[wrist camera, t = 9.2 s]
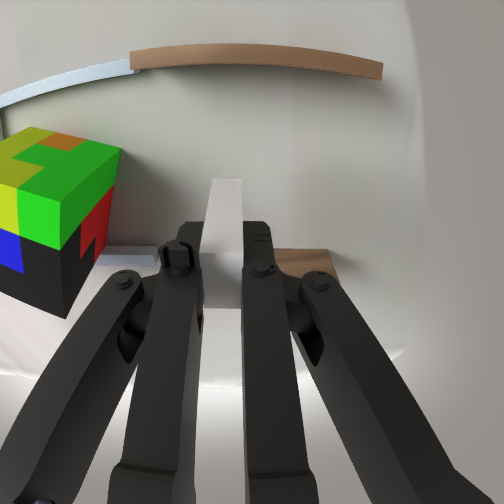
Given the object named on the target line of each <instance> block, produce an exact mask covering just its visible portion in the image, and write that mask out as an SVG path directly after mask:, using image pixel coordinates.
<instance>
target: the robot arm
mask: <svg viewBox="0 0 504 504" xmlns="http://www.w3.org/2000/svg"><path fill="white" fill-rule="evenodd" d="M159 254H160V260H161V265H162V271H161V272H160V273H158V274H156V275H152V276H148V277H144V278H141V276H140V275H139V274H138V272H136V271H133V270H121V271H118V272H116V273H114V274H113V275H112V276H110V277H109V278H108V280H107V281H106V282H105V284H104V285H103V286H102V287H101V289H100V290H99V291H98V293H97V294H96V295H95V297H94V298H93V299H92V301H91V302H90V303H89V305H88V306H87V308H86V309H85V310H84V312H83V313H82V314H81V316H80V317H79V319H78V320H77V322H76V323H75V324H74V326H73V327H72V329H71V330H70V332H69V333H68V334H67V336H66V337H65V339H64V340H63V342H62V343H61V345H60V346H59V348H58V349H57V351H56V352H55V354H54V356H53V357H52V359H51V360H50V362H49V363H48V365H47V366H46V368H45V370H44V371H43V373H42V375H41V376H40V378H39V379H38V381H37V383H36V384H35V386H34V388H33V390H32V391H31V393H30V395H29V396H28V398H27V400H26V402H25V403H24V405H23V407H22V409H21V411H20V412H19V414H18V416H17V418H16V420H15V422H14V424H13V426H12V427H11V429H10V431H9V433H8V435H7V437H6V439H5V441H4V443H3V445H2V448H1V450H0V504H72V503H73V502H74V500H75V498H76V496H77V494H78V492H79V490H80V488H81V486H82V483H83V481H84V478H85V476H86V474H87V471H88V469H89V467H90V464H91V462H92V460H93V458H94V455H95V453H96V450H97V448H98V446H99V444H100V442H101V440H102V437H103V435H104V433H105V431H106V429H107V426H108V424H109V422H110V420H111V418H112V416H113V414H114V412H115V409H116V407H117V405H118V403H119V401H120V399H121V396H122V395H123V393H124V391H125V389H126V387H127V385H128V383H129V381H130V379H131V377H132V375H133V373H134V371H135V369H136V367H137V365H138V367H137V372H136V377H135V382H134V387H133V392H132V397H131V403H130V409H129V414H128V420H127V426H126V432H125V439H124V446H123V453H122V458H121V460H120V462H119V463H118V464H117V465H116V466H115V467H114V468H113V470H112V472H111V476H110V481H109V490H108V500H107V504H196V492H195V487H194V466H195V440H196V418H197V400H198V385H199V371H200V358H201V345H202V333H203V322H204V316H203V303H204V308H241V336H242V387H243V428H244V461H245V462H244V463H245V504H319V498H318V490H317V484H316V480H315V477H314V474H313V473H312V471H311V470H310V468H309V465H308V459H307V451H306V443H305V435H304V427H303V420H302V412H301V405H300V398H299V390H298V383H297V376H296V369H295V362H294V356H293V349H292V342H291V336H290V331H291V332H292V336H293V338H294V340H295V342H296V344H297V346H298V348H299V350H300V353H301V355H302V357H303V359H304V361H305V363H306V365H307V367H308V370H309V372H310V374H311V376H312V378H313V380H314V382H315V384H316V386H317V388H318V391H319V393H320V395H321V397H322V399H323V401H324V404H325V406H326V408H327V410H328V412H329V414H330V416H331V418H332V421H333V423H334V425H335V426H336V429H337V431H338V433H339V435H340V438H341V439H342V442H343V444H344V446H345V448H346V450H347V453H348V454H349V457H350V459H351V461H352V463H353V465H354V467H355V470H356V472H357V474H358V476H359V478H360V480H361V482H362V484H363V486H364V489H365V491H366V493H367V495H368V497H369V499H370V500H371V502H372V504H494V503H493V501H492V500H491V499H490V498H489V497H488V496H486V495H485V494H484V493H483V492H482V491H480V490H479V489H478V488H477V487H476V486H474V485H473V484H472V483H471V482H469V481H468V480H467V479H466V478H465V477H464V476H462V475H461V474H460V473H459V472H458V471H456V470H455V469H454V468H453V465H452V464H451V462H450V460H449V458H448V456H447V454H446V452H445V451H444V449H443V447H442V445H441V443H440V442H439V440H438V438H437V436H436V434H435V433H434V431H433V429H432V428H431V426H430V424H429V422H428V421H427V419H426V417H425V415H424V414H423V412H422V410H421V409H420V407H419V405H418V404H417V402H416V400H415V399H414V397H413V395H412V394H411V392H410V390H409V389H408V387H407V385H406V384H405V383H404V381H403V379H402V377H401V376H400V374H399V373H398V371H397V370H396V368H395V366H394V365H393V363H392V362H391V360H390V358H389V357H388V355H387V354H386V352H385V351H384V349H383V348H382V346H381V344H380V343H379V341H378V340H377V338H376V337H375V335H374V334H373V332H372V331H371V329H370V328H369V326H368V325H367V323H366V322H365V320H364V319H363V317H362V316H361V314H360V313H359V311H358V310H357V309H356V307H355V306H354V304H353V303H352V301H351V300H350V298H349V297H348V295H347V294H346V293H345V291H344V290H343V288H342V287H341V285H340V284H339V283H338V281H337V280H336V279H335V278H334V277H333V276H332V275H330V274H329V273H327V272H323V271H310V272H307V273H306V274H305V275H303V276H302V278H298V277H293V276H290V275H287V274H285V273H283V272H282V271H281V270H280V269H279V267H278V265H277V264H276V262H275V256H274V250H273V244H272V237H271V231H270V227H269V226H268V225H267V224H266V223H265V222H264V221H243V214H242V178H228V177H213V180H212V185H211V190H210V195H209V201H208V206H207V211H206V216H205V222H185V223H184V224H183V225H182V226H181V227H180V228H179V231H178V235H177V238H176V240H172V241H169V242H167V243H165V244H164V245H162V246H161V248H160V249H159Z"/></svg>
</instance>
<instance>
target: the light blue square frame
mask: <svg viewBox="0 0 504 504" xmlns="http://www.w3.org/2000/svg"><path fill="white" fill-rule="evenodd" d="M134 73H140V69H138V70H130V58H129V59H123V60H118V61H112V62H107V63H102V64H98V65H93V66H89V67H85V68H81V69H77V70H73V71H69V72H65V73H62V74H58V75H55V76H52V77H49V78H45V79H42V80H39V81H36V82H34V83H31V84H28V85H25V86H22V87H20V88H17V89H15V90H12V91H10V92H7V93H5V94H2V95H0V108H2V107H5V106H7V105H10V104H13V103H16V102H18V101H21V100H24V99H27V98H30V97H33V96H36V95H39V94H43V93H46V92H50V91H53V90H57V89H60V88H64V87H68V86H72V85H76V84H80V83H85V82H89V81H94V80H99V79H104V78H109V77H115V76H121V75H127V74H134ZM3 140H4V137H3V131H2V124H1V116H0V142H1V141H3ZM157 259H158V251H157V246H105V247H104V249H103V251H102V252H101V254H100V256H99V257H98V259H97V261H96V263H95V264H94V265H133V266H155V264H156V262H157Z"/></svg>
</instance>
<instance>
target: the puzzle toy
mask: <svg viewBox="0 0 504 504" xmlns="http://www.w3.org/2000/svg"><path fill="white" fill-rule="evenodd" d="M120 152H121V148H118V147H114V146H110V145H107V144H103V143H99V142H95V141H91V140H87V139H82V138H78V137H74V136H70V135H65V134H61V133H56V132H52V131H47V130H42V129H38V128H33V127H29V128H27V129H24V130H22V131H20V132H18V133H16V134H14V135H12V136H10V137H8V138H6V139H4V140H3V141H1V142H0V292H2V293H4V294H6V295H9V296H11V297H13V298H15V299H17V300H20V301H22V302H24V303H26V304H29V305H31V306H33V307H36V308H38V309H40V310H43V311H45V312H48V313H50V314H53V315H55V316H58V317H60V318H63V319H66V318H67V316H68V313H69V311H70V309H71V307H72V305H73V303H74V301H75V299H76V298H77V296H78V294H79V292H80V290H81V288H82V286H83V284H84V282H85V281H86V279H87V277H88V275H89V273H90V271H91V270H92V268H93V266H94V264H95V263H96V261H97V259H98V257H99V256H100V254H101V252H102V251H103V249H104V247H105V246H106V240H107V231H108V223H109V215H110V208H111V201H112V195H113V189H114V183H115V177H116V172H117V167H118V161H119V157H120Z"/></svg>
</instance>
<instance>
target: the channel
mask: <svg viewBox="0 0 504 504" xmlns="http://www.w3.org/2000/svg"><path fill="white" fill-rule="evenodd" d="M191 65H264V66H280V67H292V68H302V69H310V70H318V71H325V72H332V73H338V74H344V75H350V76H356V77H363V78H369V79H376V80H381V81H382V71H383V63H381V62H377V61H373V60H369V59H365V58H360V57H355V56H350V55H345V54H340V53H334V52H328V51H322V50H315V49H307V48H299V47H290V46H278V45H263V44H195V45H180V46H169V47H159V48H151V49H144V50H137V51H131V52H130V70H138V69H155V68H164V67H176V66H191ZM273 250H274V256H275V262H276V264H277V265H278V267H279V269H280V270H281V271H282V272H283V273H285V274H287V275H290V276H293V277H298V278H302V276H303V275H305V274H306V273H307V272H310V271H323V272H327V273H329V274H330V275H332V276H333V277H334V278H335V279H336V280H337V281H338V283H339V284H340V282H339V279H338V277H337V274H336V272H335V269H334V267H333V264H332V262H331V259H330V257H329V254H328V252H327V249H273ZM161 271H162V265H161V268H160V271H159V273H160V272H161Z"/></svg>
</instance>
